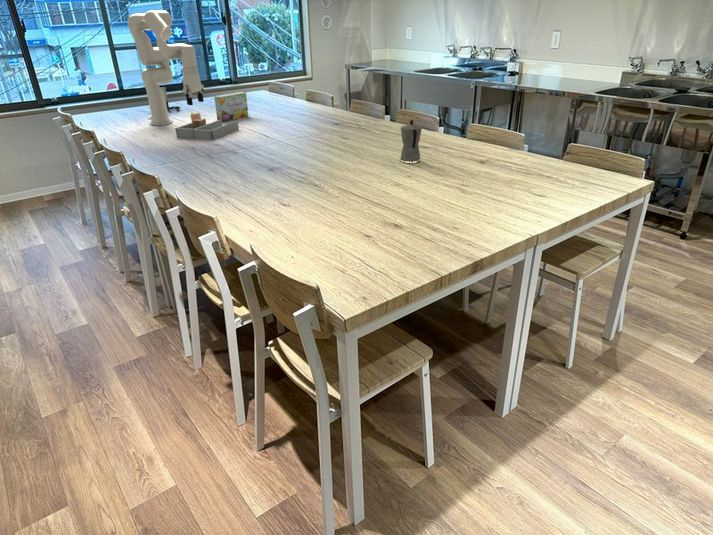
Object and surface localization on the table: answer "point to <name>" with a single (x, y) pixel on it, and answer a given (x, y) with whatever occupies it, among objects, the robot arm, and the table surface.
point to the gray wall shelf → (206, 130)
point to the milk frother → (167, 101)
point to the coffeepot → (410, 142)
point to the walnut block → (198, 123)
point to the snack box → (231, 106)
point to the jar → (195, 116)
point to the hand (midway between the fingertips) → (195, 103)
